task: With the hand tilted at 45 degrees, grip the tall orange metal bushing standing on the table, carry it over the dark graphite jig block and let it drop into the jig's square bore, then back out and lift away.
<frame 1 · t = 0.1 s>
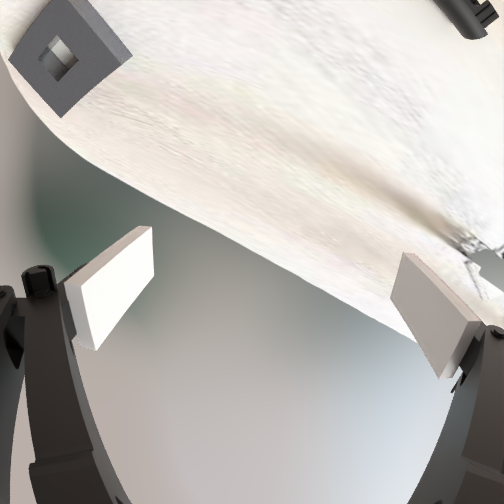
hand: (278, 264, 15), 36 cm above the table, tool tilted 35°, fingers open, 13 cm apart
jig: (70, 50, 33), on the table
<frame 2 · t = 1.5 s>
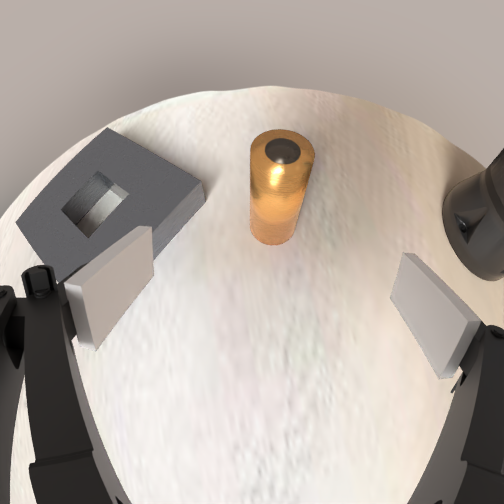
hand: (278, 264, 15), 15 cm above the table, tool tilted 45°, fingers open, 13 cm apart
bushing: (272, 224, 33), on the table
jig: (106, 219, 33), on the table
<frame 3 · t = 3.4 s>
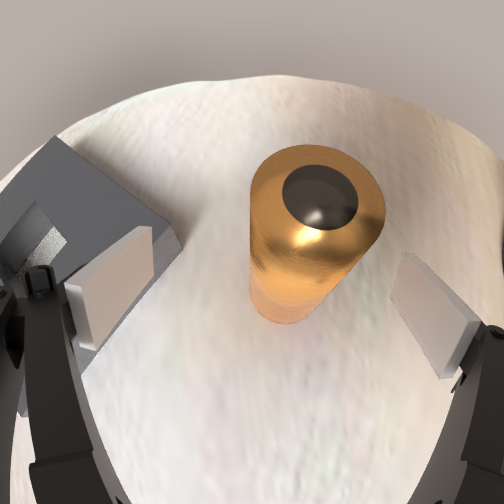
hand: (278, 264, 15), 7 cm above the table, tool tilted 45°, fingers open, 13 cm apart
bushing: (284, 290, 21), on the table
jig: (49, 268, 22), on the table
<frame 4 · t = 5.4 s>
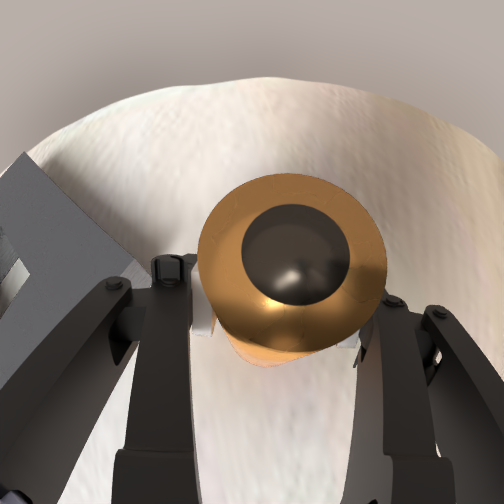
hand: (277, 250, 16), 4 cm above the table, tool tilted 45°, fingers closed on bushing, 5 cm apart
bushing: (267, 328, 18), on the table, touching gripper
jig: (20, 297, 19), on the table
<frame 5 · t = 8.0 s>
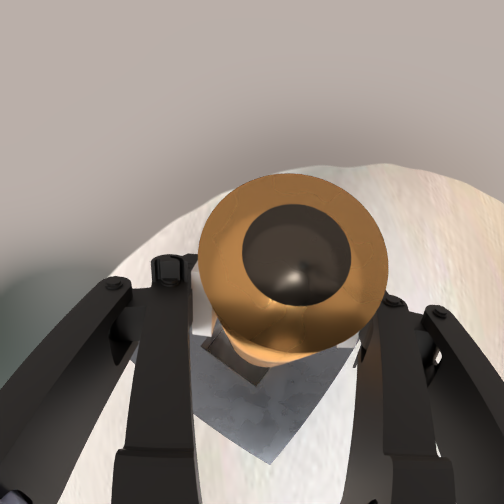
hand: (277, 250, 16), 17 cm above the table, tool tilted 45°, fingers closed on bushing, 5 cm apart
bushing: (267, 328, 18), point 13 cm above the table, touching gripper
jig: (249, 344, 31), on the table
when the fingers open (9 cm above the table, at t = 10.5 s): bushing drops 5 cm, resting in jig.
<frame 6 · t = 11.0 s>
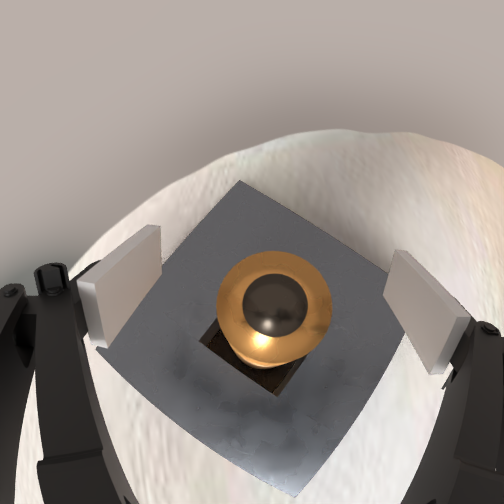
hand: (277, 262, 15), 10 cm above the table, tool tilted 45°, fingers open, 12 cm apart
bushing: (262, 339, 23), resting in jig
jig: (263, 338, 23), on the table
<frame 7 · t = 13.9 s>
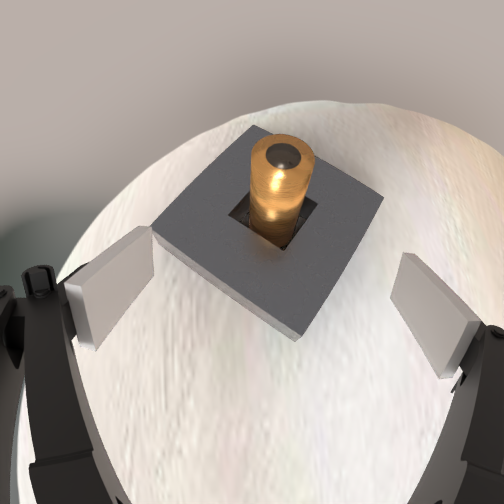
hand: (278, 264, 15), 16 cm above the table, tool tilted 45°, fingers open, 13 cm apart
bushing: (271, 228, 33), resting in jig
jig: (271, 227, 33), on the table
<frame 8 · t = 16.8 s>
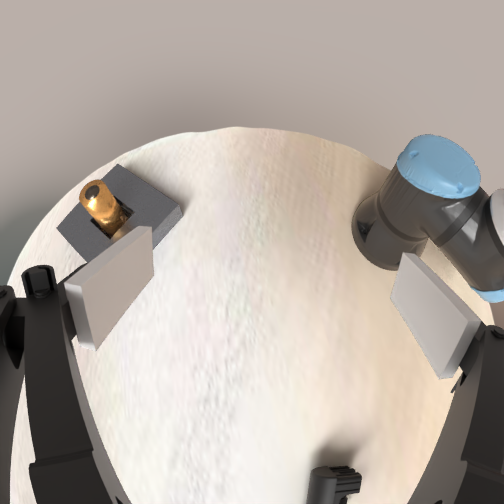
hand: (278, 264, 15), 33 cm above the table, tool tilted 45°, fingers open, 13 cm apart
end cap: (324, 489, 34), on the table
bushing: (119, 227, 52), resting in jig
jig: (119, 226, 52), on the table
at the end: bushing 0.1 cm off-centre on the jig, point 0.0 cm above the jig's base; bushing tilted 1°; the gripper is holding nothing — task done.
